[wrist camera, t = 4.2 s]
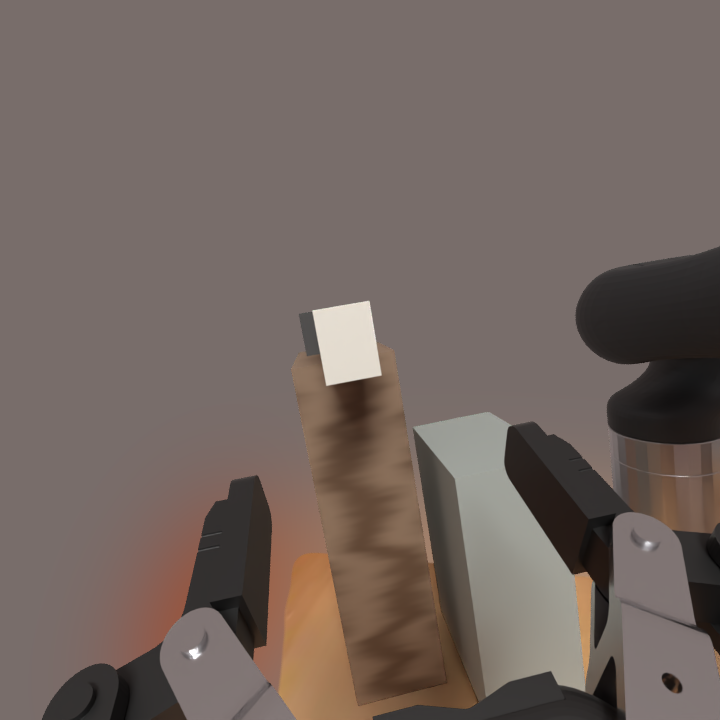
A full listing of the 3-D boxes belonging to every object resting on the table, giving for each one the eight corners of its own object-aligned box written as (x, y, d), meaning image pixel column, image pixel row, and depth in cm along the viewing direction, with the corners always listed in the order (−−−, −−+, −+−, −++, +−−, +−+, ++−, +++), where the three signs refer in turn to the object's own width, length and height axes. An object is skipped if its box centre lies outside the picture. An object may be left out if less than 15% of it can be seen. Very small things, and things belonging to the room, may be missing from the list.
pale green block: (511, 594, 42) (488, 411, 39) (587, 705, 30) (562, 455, 27) (441, 611, 41) (412, 427, 38) (490, 731, 29) (454, 478, 27)
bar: (363, 341, 41) (357, 304, 41) (408, 370, 21) (397, 296, 20) (308, 350, 41) (301, 313, 40) (298, 391, 20) (283, 315, 19)
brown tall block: (413, 586, 46) (372, 339, 41) (446, 682, 34) (394, 350, 30) (347, 602, 45) (299, 352, 41) (358, 705, 33) (291, 369, 29)
